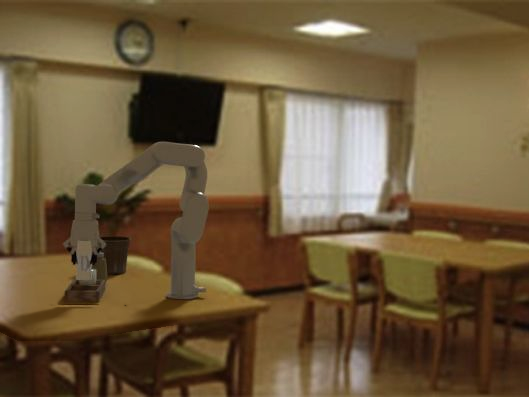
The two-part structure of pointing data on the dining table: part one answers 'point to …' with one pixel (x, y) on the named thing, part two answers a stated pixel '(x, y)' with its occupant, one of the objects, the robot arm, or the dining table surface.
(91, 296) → the carrier
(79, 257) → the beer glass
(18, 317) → the dining table surface
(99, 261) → the squeeze bottle
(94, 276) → the grey rounded piece
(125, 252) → the plant pot
